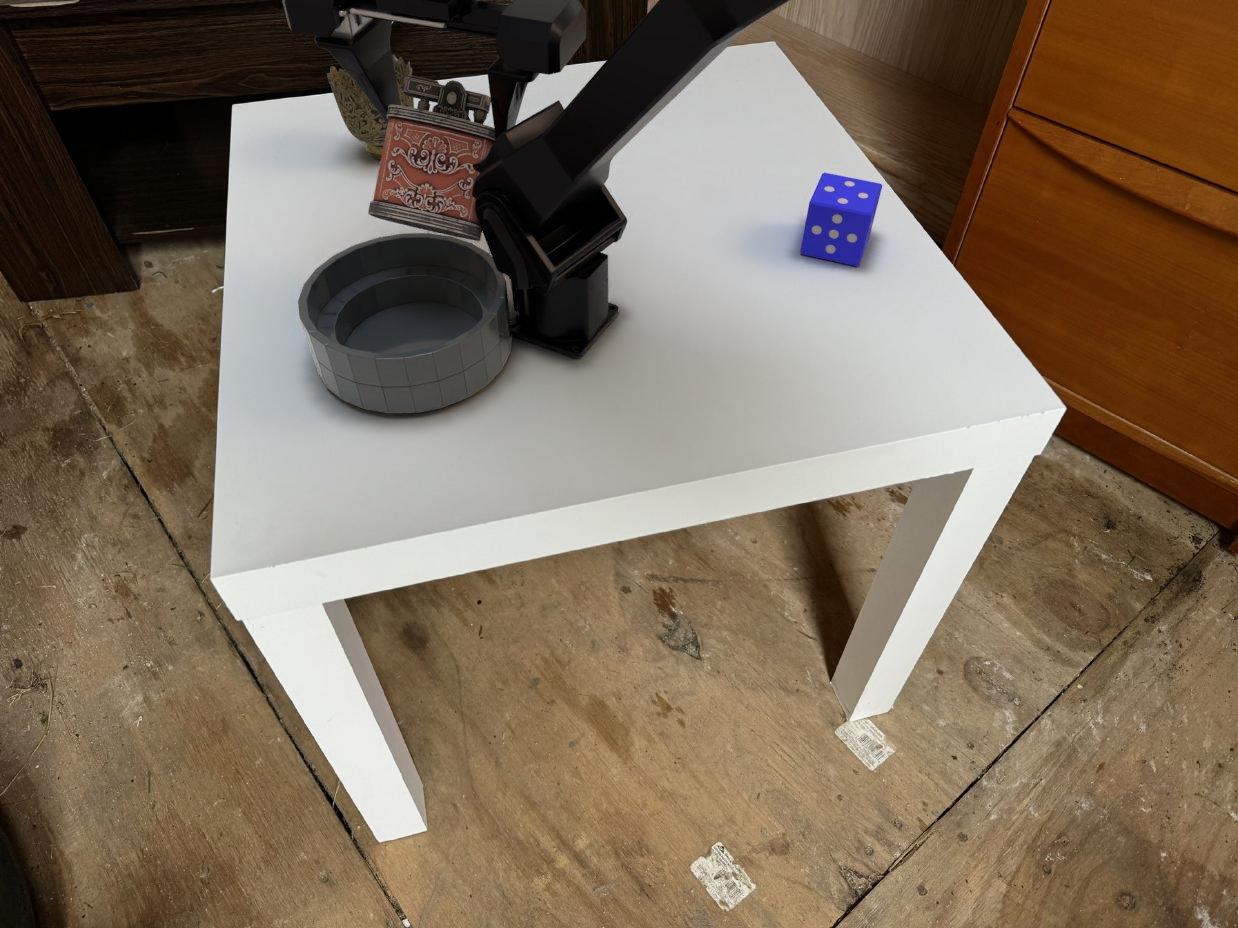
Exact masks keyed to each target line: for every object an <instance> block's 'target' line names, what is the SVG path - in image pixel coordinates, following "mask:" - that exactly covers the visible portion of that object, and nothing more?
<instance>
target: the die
mask: <svg viewBox="0 0 1238 928" xmlns="http://www.w3.org/2000/svg"><path fill="white" fill-rule="evenodd" d="M816 184H817V185H816V187H815V189H814V191H813V194H812V196H811V198H810V200H809V202H808V208H807V212H806V218H805V224H804V229H803V235H802V239H801V245H800V251H799V253H800V254H801V255H804V256H809V257H812V258H817V259H822V260H826V261H831V262H835V263H839V264H844V265H848V266H853V267H859V266H860V265H861V262H862V259H863V256H864V254H865V251H866V248H867V244H868V242H869V239H870V237H871V233H872V229H873V224H874V220H875V217H876V211H877V209H878V205H879V201H880V197H881V192H882V189H883V183H880V182H876V181H869V180H865V179H860V178H855V177H848V176H844V175H839V174H834V173H830V172H829V173H828V172H822V173H821V176H820V178H819V180H818V182H817V183H816Z"/></svg>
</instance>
